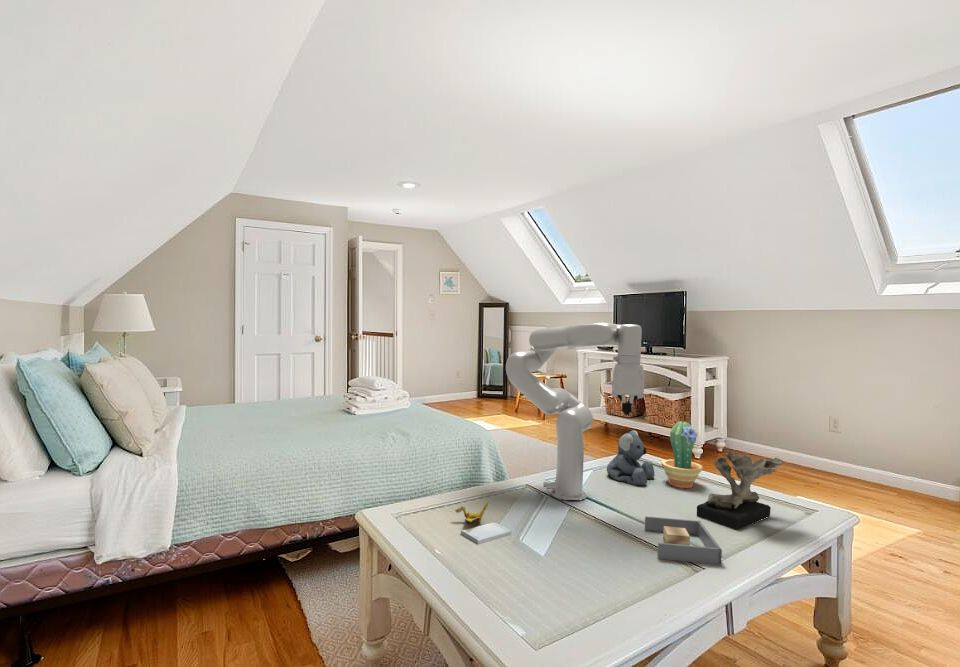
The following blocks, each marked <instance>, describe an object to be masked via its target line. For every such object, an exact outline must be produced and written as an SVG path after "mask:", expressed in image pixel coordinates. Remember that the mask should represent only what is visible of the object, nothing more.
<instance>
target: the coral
mask: <svg viewBox="0 0 960 667" xmlns="http://www.w3.org/2000/svg"><path fill="white" fill-rule="evenodd" d="M725 456H726V457H721V456H720V457H718V458H717V459H716V460H715V459H713V460H712V462H713V465H714V466H715V468H716V469H717V470H718V471H719V474H720V475H721V476H722V477H724V479H726V481H727V482H728V483H729V485H730V487H731V488H730V489H731V494H718V493H710V494H709V495H708V498H707V500H706V501H705V502H703V503H701V504H698V505H697V506H696V517H698V518H701V519H704V520H707V521H710V522H712V523H714V524H715V523H716V524H718V525H720V526H724V527H726V528H729V529H732V530H734V531H738V530H742V529H744V528H746V527H748V525H749V526H751V525H753V524H752V523H754V524H756V523H758V522H760V521H759V520H761V519H764V518H766V517H769V516H770V517H771V509H772V507H771V506H770V505H768V504H765V503H762V502H759V500H760V496H759V495H758V493H757V492H756V491H751V485H752V484H753V483H754V482H755V481H756V480H758V479H760V478H761V477H764V476H766V475H771V474H773V473H775V472H777V471H778V468H777V467H779V466H782V465H783V464H785V461H784V460H783V459H780V458H778V457H773V460H771V459H763V458H759V459H758V460H755V461H754V462H753V460H752V459H751V457H750V456H748V455H745V454H743V455H738V454H737V453H736V451H734V452H733V454H732V452H731V451H728V452H726V453H725ZM727 459H728V460H729V461H730V462H731V464H732V465H731V466H730V464H729V462H728V461H727ZM732 469H733V471H734V472H735V474H736V476H737V478H738V479H739V480H740V483H739V484H738V483H737V482H736V480H735V478H734V477H733V476H732V475H731V470H732ZM770 517H769V518H770ZM766 519H767V518H766ZM764 520H765V519H764ZM757 521H758V522H757ZM761 521H762V520H761ZM755 522H756V523H755ZM750 524H751V525H750Z"/></svg>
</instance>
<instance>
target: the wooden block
mask: <svg viewBox="0 0 960 667" xmlns="http://www.w3.org/2000/svg"><path fill="white" fill-rule="evenodd" d="M662 533H663V534H662V540H663V539H664V540H663V542H664V541H665V542H664V543H668V544H679V545H690V543H691V536H690V534H688V532H687V530H686V529H685V528H678V527H668V526H664V529H663V532H662ZM690 546H691V545H690Z"/></svg>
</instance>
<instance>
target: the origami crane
mask: <svg viewBox="0 0 960 667" xmlns="http://www.w3.org/2000/svg"><path fill="white" fill-rule="evenodd" d="M487 507H489V501H487V502H485V504H484V505H483V508H482V509H481V510H480V512H469V511H466V507H465V506H462V505H461V506H460V507H457V509H455V513H457V514H458V513H461V512H462V511H463V515H464V517H465V522H466V524H468V525H469V524H470V523H472V522H473V521H475V520H476V519H477V523H478V524H479V525H480V524H481V520H482V517H483V515H484V513H485V512H486V510H487Z"/></svg>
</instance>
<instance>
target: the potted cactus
mask: <svg viewBox="0 0 960 667" xmlns="http://www.w3.org/2000/svg"><path fill="white" fill-rule="evenodd" d="M669 434H670V435H669V437H670V443H671V447H672V452H673V459H671V458H670V459H664V460H662V461H661V462H660V463H661V467H662V468H663V469H664V473H665V476H666V477H667V479H668V480H669V481H668V484H669V485H671V486H672V487H673V486H674V487H677V488H681V489H682V488H683V489H690V488H689V487H691V488H693V487H694V482H695V481H696V480H697V479H698V477H699V474H700V473H701V472H702V471H703V468H704V467H703V465H701V464H700V463H697V462H694V461H692V459H693V458H692V454H693V448H694V446H695V444H696V442H697V437H698V433H697V432H696V430H695V429H694V428H693V427H692V425H691V424H690V423H689V422H687V421H677V422H676V423H675V425H673V427H672V428H671V430H670V432H669ZM692 486H693V487H692Z"/></svg>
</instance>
